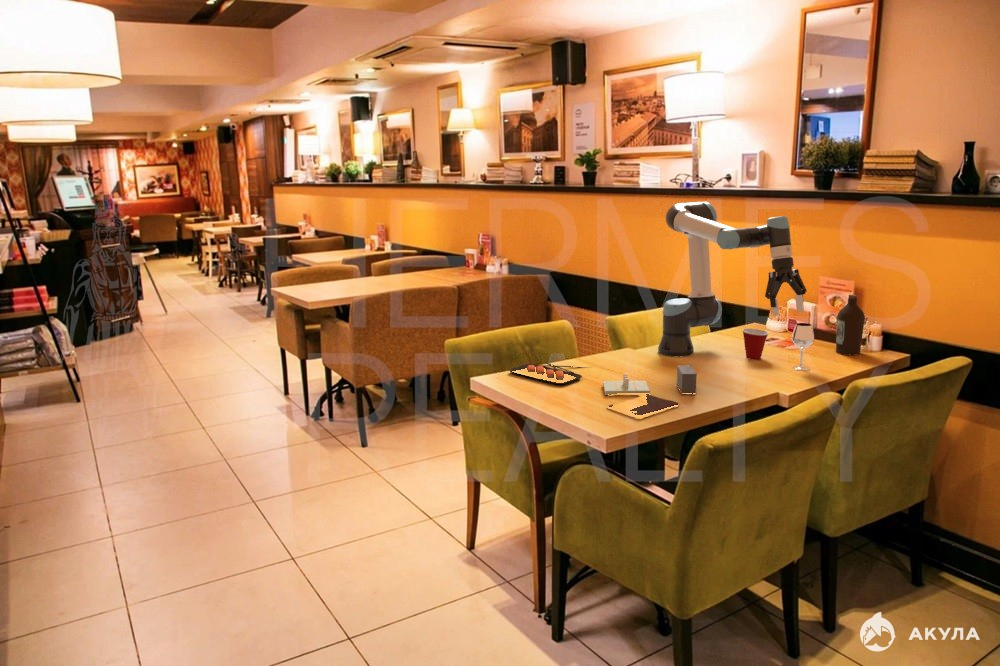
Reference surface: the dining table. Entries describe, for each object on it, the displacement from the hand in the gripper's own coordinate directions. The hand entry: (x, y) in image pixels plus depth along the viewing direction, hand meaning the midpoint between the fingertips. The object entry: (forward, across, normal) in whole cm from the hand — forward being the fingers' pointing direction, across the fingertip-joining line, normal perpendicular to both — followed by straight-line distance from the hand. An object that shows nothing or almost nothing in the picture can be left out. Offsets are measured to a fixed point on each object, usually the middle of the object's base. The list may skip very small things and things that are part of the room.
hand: (788, 314), depth 269 cm
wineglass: (+23, +16, +10) cm, 30 cm away
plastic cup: (+18, +13, +30) cm, 38 cm away
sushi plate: (+13, -66, +61) cm, 91 cm away
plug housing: (+23, -41, +15) cm, 49 cm away
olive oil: (+21, +51, +14) cm, 57 cm away
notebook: (+26, -66, +10) cm, 72 cm away
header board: (+21, -59, +27) cm, 68 cm away
